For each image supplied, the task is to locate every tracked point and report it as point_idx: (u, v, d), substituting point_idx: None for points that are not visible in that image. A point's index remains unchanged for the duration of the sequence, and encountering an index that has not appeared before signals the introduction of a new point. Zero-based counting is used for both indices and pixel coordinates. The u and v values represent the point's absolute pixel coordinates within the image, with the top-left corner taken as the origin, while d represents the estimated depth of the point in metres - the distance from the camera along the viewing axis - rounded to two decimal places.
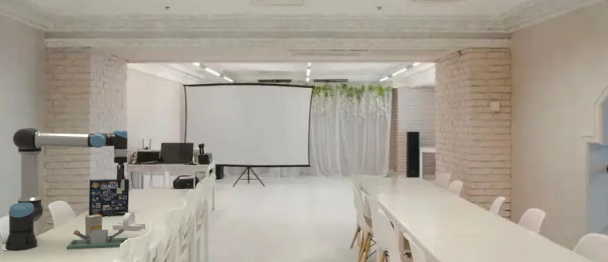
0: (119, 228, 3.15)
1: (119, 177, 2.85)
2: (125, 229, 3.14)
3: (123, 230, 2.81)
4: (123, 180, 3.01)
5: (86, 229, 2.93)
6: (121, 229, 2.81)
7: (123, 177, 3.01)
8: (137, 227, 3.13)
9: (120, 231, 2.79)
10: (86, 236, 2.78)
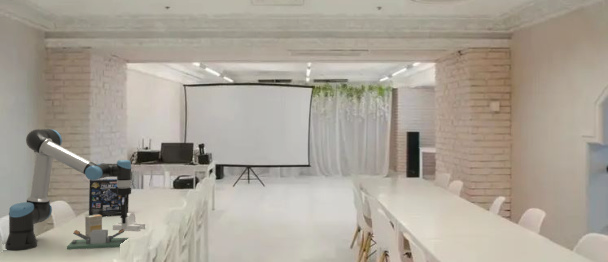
0: (119, 228, 3.15)
1: (124, 213, 2.77)
2: (125, 229, 3.14)
3: (123, 230, 2.81)
4: None
5: (86, 229, 2.93)
6: None
7: (126, 213, 2.82)
8: (136, 227, 3.13)
9: (120, 231, 2.79)
10: (86, 236, 2.78)
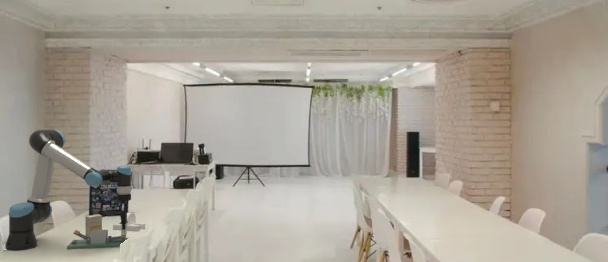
0: (119, 228, 3.15)
1: (123, 220, 2.77)
2: None
3: (125, 236, 2.81)
4: (125, 224, 2.81)
5: (86, 229, 2.93)
6: (124, 235, 2.82)
7: (125, 219, 2.82)
8: (136, 227, 3.13)
9: (122, 236, 2.79)
10: (86, 236, 2.78)
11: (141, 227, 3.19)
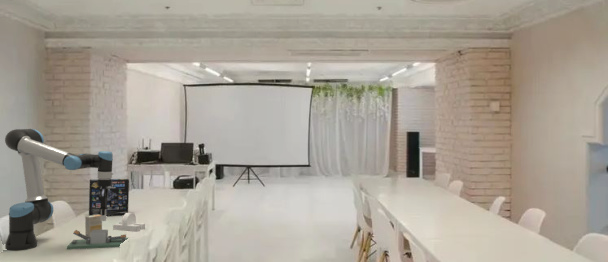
0: (119, 228, 3.16)
1: (103, 205, 2.75)
2: (124, 229, 3.15)
3: (125, 237, 2.81)
4: None
5: (86, 229, 2.93)
6: (124, 235, 2.82)
7: (105, 205, 2.80)
8: (135, 227, 3.12)
9: (122, 236, 2.79)
10: (86, 236, 2.78)
11: (141, 227, 3.19)
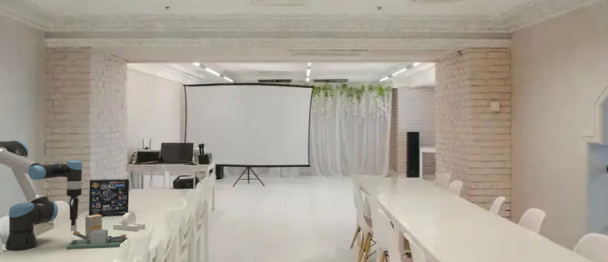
0: (118, 228, 3.16)
1: (73, 215, 2.71)
2: (124, 229, 3.15)
3: (125, 237, 2.81)
4: None
5: (86, 229, 2.93)
6: (124, 235, 2.82)
7: None
8: (135, 227, 3.12)
9: (122, 236, 2.79)
10: (85, 236, 2.78)
11: (141, 227, 3.18)
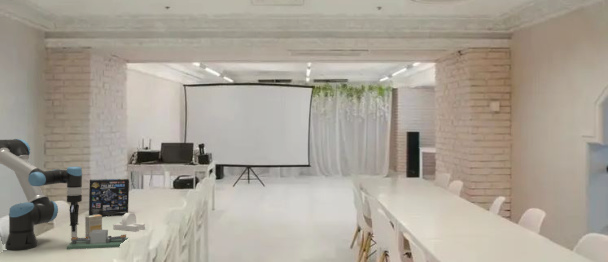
0: (118, 228, 3.16)
1: (73, 221, 2.71)
2: (124, 229, 3.15)
3: (125, 237, 2.81)
4: None
5: (86, 229, 2.93)
6: (124, 235, 2.82)
7: (76, 221, 2.76)
8: (134, 227, 3.12)
9: (122, 236, 2.79)
10: (85, 238, 2.78)
11: (140, 227, 3.18)
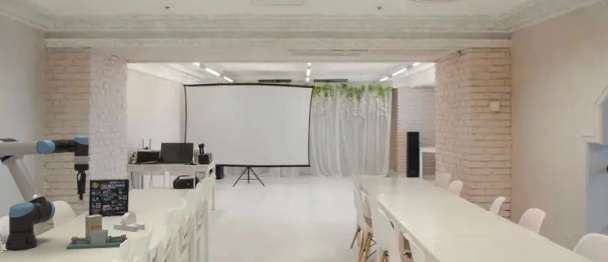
0: (118, 228, 3.16)
1: (80, 189, 2.74)
2: (123, 229, 3.15)
3: (125, 237, 2.81)
4: None
5: (86, 229, 2.93)
6: (124, 235, 2.82)
7: None
8: (134, 228, 3.12)
9: (122, 236, 2.79)
10: (85, 238, 2.78)
11: (140, 227, 3.18)
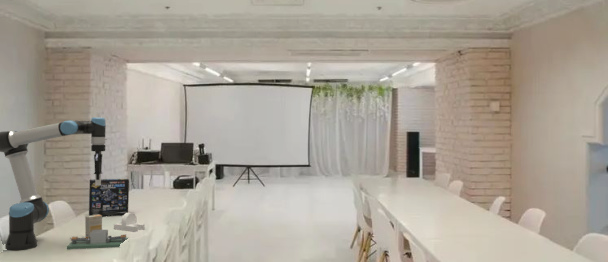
0: (118, 227, 3.16)
1: (97, 169, 2.81)
2: (123, 229, 3.15)
3: (125, 237, 2.81)
4: None
5: (86, 229, 2.93)
6: (124, 235, 2.82)
7: (100, 170, 2.86)
8: (133, 228, 3.12)
9: (122, 236, 2.79)
10: (85, 238, 2.78)
11: (140, 228, 3.18)
